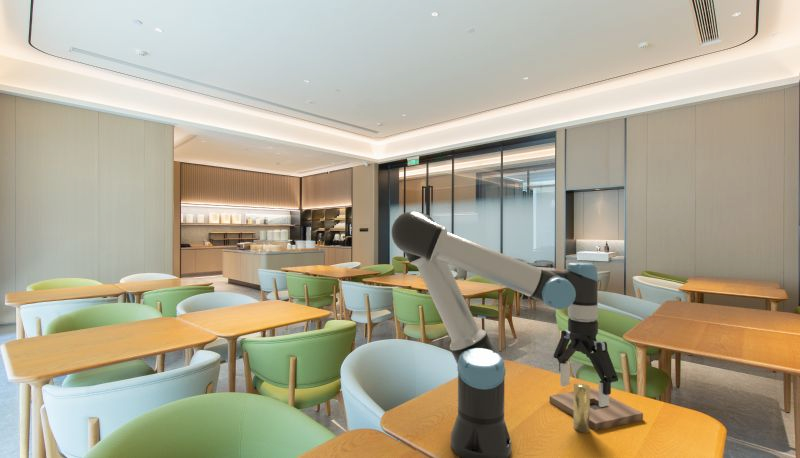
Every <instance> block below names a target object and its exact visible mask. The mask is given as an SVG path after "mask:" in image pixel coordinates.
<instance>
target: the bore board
mask: <svg viewBox="0 0 800 458" xmlns="http://www.w3.org/2000/svg"><path fill="white" fill-rule="evenodd" d="M549 403H550V404H552V405H553V406H554V407H557V408H558V409H560V410H562V411H563V412H565V413H567V414H568V415H569V416H571V417H573V418H574V391H570V392H568V391H567V392H564V393H558V394H552V395H549ZM643 420H644V413H643V412H642V411H640V410H638V409H636V408H634V407H632V406H630V405H628V404H625V403H624V402H622V401H620V400H617V399H616V398H614V397H611V396H610V395H609V405H608V406H604V407H600V406H599V389H596V388H594V387H591V388H590V416H589V429H592V430H594V431H601V430H606V429H608V428H609V429H610V428H612V427H613V428H614V427H618V426H622V425H626V424H627V425H628V424H630V423H631V424H632V423H635V422H639V421H643Z"/></svg>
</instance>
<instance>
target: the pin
mask: <svg viewBox="0 0 800 458" xmlns="http://www.w3.org/2000/svg"><path fill="white" fill-rule="evenodd" d="M590 387H591V386H589V385H588V384H586V383H582V382H576V383H574V384H573V392H574V417H573V429H574V430H575V431H576V432H578V433H584V434H587V433H589V432H590V427H589V416H590V389H591V388H590Z"/></svg>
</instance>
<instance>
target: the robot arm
mask: <svg viewBox="0 0 800 458" xmlns="http://www.w3.org/2000/svg"><path fill="white" fill-rule="evenodd" d="M391 237H392V241H393V243H394V245H395V246H396V247H397V248H398V249H399V250H400V251H402V252H404V254H405V256H406V258H407V261H408V262H409V264H411V265H413V266H415V267H416V268H417V270H418V271H419V273H420V276H421V279H422V281H423V282H424V284H425V287H426V289H427V291H428V293H429V295H430V297H431V300H432V301H433V304H434V306H435V308H436V310H437V312H438V314H439V316H440V318H441V321H442V324H443V325H444V327H445V328H446V331H447V334H448V335H449V337H450V339H451V342H450V344H449V349H450V352H451V354H452V356H453V358H454V360H455V363H456V364H457V415H456V418H455V421H454V424H453V427H452V431H451V432H450V433H451V434H450V447H451V449H452V451H453V450H454V451H453V452H454V453H455V455H457V456H458V455H459V456H458V457H459V458H461V457H462V458H509V457H511V454H512V440H511V436H510V433H509V430H508V427H507V423H506V421H505V420H506V419H505V377H506V365H505V361H504V358H503V357H502V356H501V355H500V354H499V353H498V351H497V349H496V347H495V346H494V344H492V341H491V340H490V338H489V335H488V334H487V332H486V330H484V329H482V328H479V326H478V325H477V322H476V321H475V318H474V316H473V314H472V312H471V310H470V308H469V306H468V303H467V302H466V299H465V298H464V296H463V294H462V292H461V289H460V286H459V285H458V282H457V280H456V279H455V277H454V273H452V270H451V269H450V266H452V267H453V266H454V267H455V268H458V269H461V270H463V271H466V272H469V273H471V274H473V275H476V276H479V277H481V278H483V279H486V280H487V281H491V282H493V283H495V284H498V285H500V286H503V287H506V288H507V289H511V290H513V291H515V292H518V293H521V294H523V295H525V296H526V297H530V298H532V299H534V300H537V301H539V302H542V303H543V304H546V305H547V306H548V307H550V308H553V309H555V310H564V309H567V317H569V318H568V319H567V329H565V330H561V332H560V338H559V342H558V343H557V345H556V348H555V351H554V352H553V358H554V359H556V360H557V361H558V367H559V368H558V370H559V374H560V386H561V387H567V386H570V385H571V384H570V379H571V378H570V375H571V374H570V370H571V369H570V362H569V360H570V359H571V357H572V356H573V355H574V354H575V353H576V352H580V353H581V354H583V355H585V356H586V358H589V361H590V363H591V364H592V366H593V367H594V369H595V371H596V373H597V375H598V377H599V378H600V380H598V391H599V406H600V407H604V406H608V405H609V396H610V395H611V393H612V383H615V382H618V381H619V378H618V375H617V372H616V370H615V367H614V364H613V362H612V359H611V357H610V354H609V351H608V344H607V343H608V342H606V341H598V340H597V335H598V333H599V321H598V320H597V319H598V317H599V315H598V314H599V313H598V311H599V309H598V306H599V305H598V293H599V292H598V289H599V288H598V285H599V279H598V268H597V266H596V264H594V263H591V262H569V263H568V264H567V267H566V269H560V270H557V269H542V268H540V267H537V266H534V265H531V264H529V263H526V262H525V261H522V260H519V259H516V258H514V257H511V256H509V255H506V254H503V253H502V252H499V251H496V250H494V249H492V248H489V247H486V246H484V245H482V244H478V243H477V242H474V241H471V240H469V239H466V238H463V237H461V236H459V235H456V234H453V233H451V232H449V231H448V229H447V228H446V226H443V225H441V224H440V223H437V222H435V220H434V219H433V218H432V217H431V216H430V215H428V214H427V213H424V212H419V211H407V212H403V213H402V214H400V215H398V216H397V218H396V219H395V220H394V222H393V224H392V226H391ZM449 265H450V266H449Z"/></svg>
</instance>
